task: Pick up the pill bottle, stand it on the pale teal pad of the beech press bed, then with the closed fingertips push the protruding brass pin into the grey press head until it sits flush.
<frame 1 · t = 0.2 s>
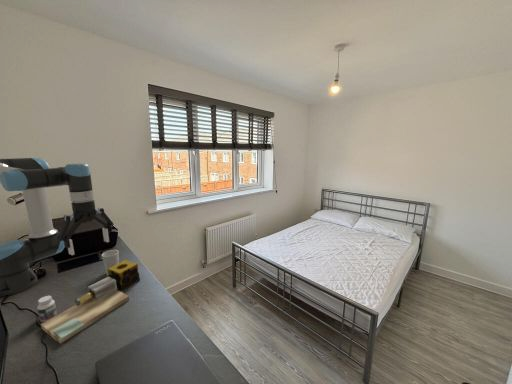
hand: (90, 247, 93), 27 cm above the table, fingers open, 13 cm apart
cup: (112, 272, 121), on the table
pill bottle: (48, 317, 89), on the table
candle: (125, 283, 112), on the table
pin: (87, 296, 94), point 5 cm above the table, slide at 0.0 cm
press: (86, 314, 91), on the table
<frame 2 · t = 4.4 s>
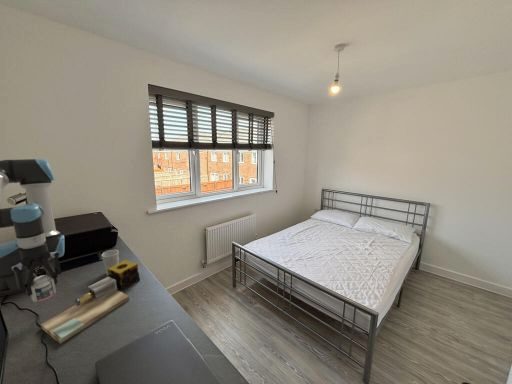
hand: (44, 295, 87), 10 cm above the table, fingers closed on pill bottle, 5 cm apart
pill bottle: (44, 297, 87), point 9 cm above the table, touching gripper
everything else where it was.
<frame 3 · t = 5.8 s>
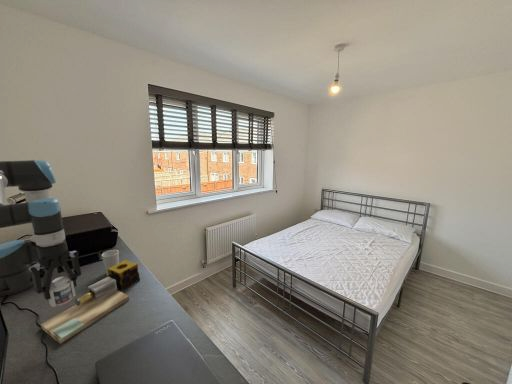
hand: (63, 300, 79), 14 cm above the table, fingers closed on pill bottle, 5 cm apart
pill bottle: (63, 301, 79), point 14 cm above the table, touching gripper
everything else where it was.
when the fingers open (3 cm above the table, at t = 7.3 s): pill bottle stays where it is, resting on press.
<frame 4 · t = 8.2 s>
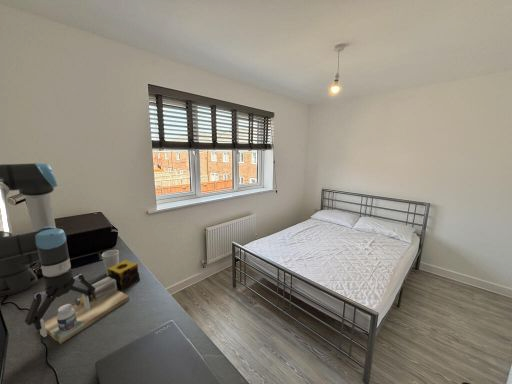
hand: (67, 321, 81), 5 cm above the table, fingers open, 13 cm apart
pill bottle: (68, 327, 81), point 2 cm above the table, touching press
everything else where it was.
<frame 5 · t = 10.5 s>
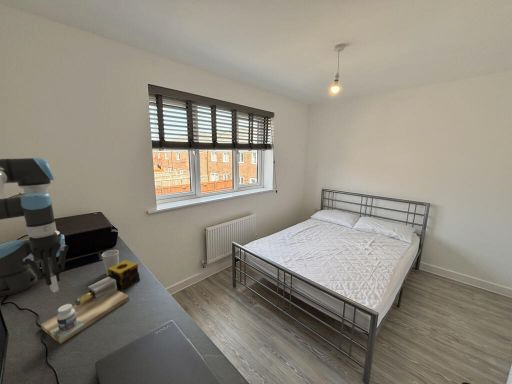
hand: (54, 290, 83), 15 cm above the table, fingers closed
nothing on the table moved.
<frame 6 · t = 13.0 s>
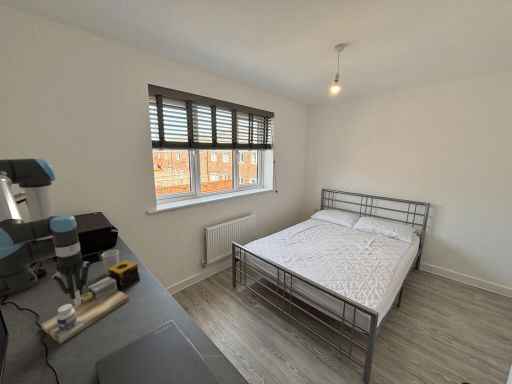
hand: (77, 303, 91), 4 cm above the table, fingers closed
pin: (89, 295, 95), point 5 cm above the table, slide at 1.1 cm, touching gripper
everything else where it was.
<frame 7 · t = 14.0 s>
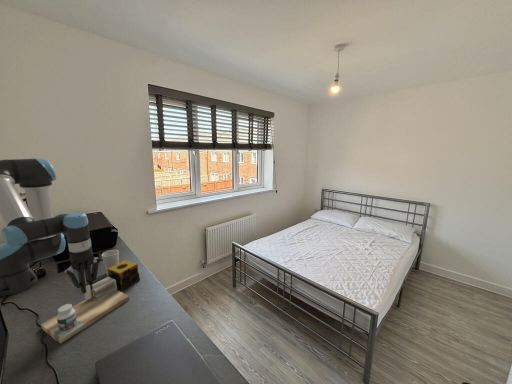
hand: (88, 297, 95), 4 cm above the table, fingers closed
pin: (99, 290, 99), point 5 cm above the table, slide at 5.1 cm
everything else where it was.
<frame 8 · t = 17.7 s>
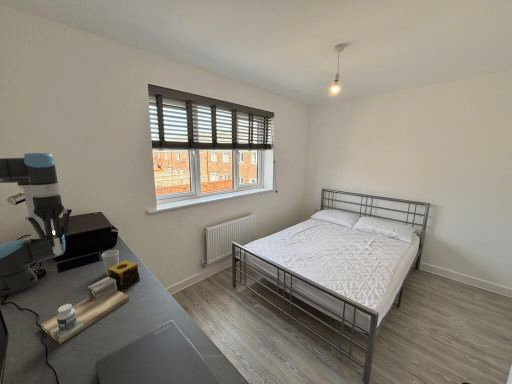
hand: (57, 253, 83), 29 cm above the table, fingers closed
nothing on the table moved.
at the end: pin slide at 5.1 cm; pill bottle 0.0 cm from the target spot on the press, point 2.1 cm above the press's base; pill bottle tilted 0° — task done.
